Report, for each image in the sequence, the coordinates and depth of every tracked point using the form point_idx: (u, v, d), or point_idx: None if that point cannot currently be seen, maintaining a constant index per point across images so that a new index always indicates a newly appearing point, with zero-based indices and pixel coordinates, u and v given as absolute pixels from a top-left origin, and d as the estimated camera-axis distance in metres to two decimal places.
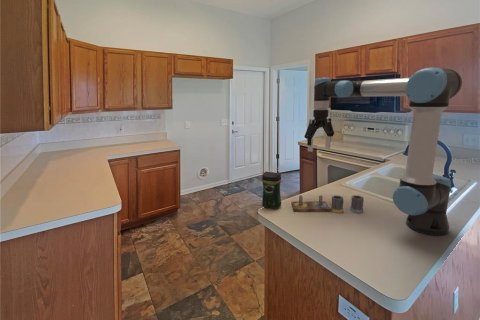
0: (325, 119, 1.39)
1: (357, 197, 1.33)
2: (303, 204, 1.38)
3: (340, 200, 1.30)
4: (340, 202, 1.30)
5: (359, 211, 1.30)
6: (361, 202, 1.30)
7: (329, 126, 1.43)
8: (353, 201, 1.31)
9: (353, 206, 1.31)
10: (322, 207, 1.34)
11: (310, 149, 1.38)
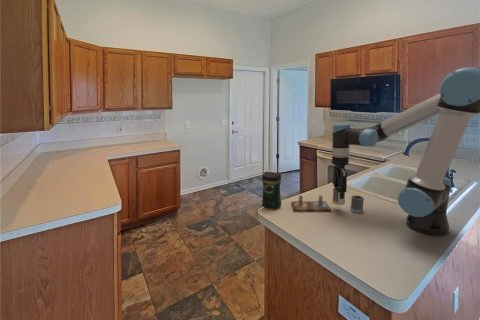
0: None
1: (357, 197, 1.33)
2: (303, 204, 1.38)
3: None
4: None
5: (359, 211, 1.30)
6: (361, 202, 1.30)
7: None
8: (353, 201, 1.31)
9: (353, 206, 1.31)
10: (322, 207, 1.34)
11: (342, 202, 1.28)
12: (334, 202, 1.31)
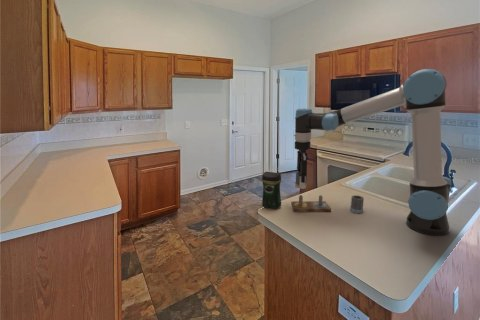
0: None
1: (357, 197, 1.33)
2: (303, 204, 1.38)
3: None
4: None
5: (359, 211, 1.30)
6: (361, 202, 1.30)
7: None
8: (353, 201, 1.31)
9: (353, 206, 1.31)
10: (322, 207, 1.34)
11: (303, 186, 1.32)
12: (296, 186, 1.34)
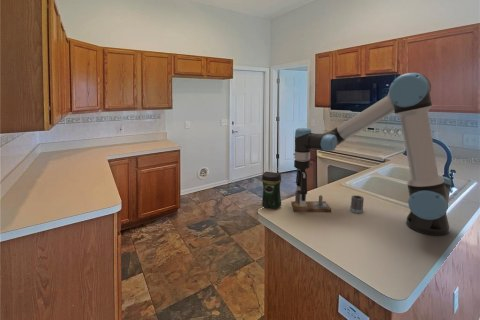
0: None
1: (357, 197, 1.33)
2: None
3: None
4: None
5: (359, 211, 1.30)
6: (361, 202, 1.30)
7: None
8: (353, 201, 1.31)
9: (353, 206, 1.31)
10: (322, 207, 1.34)
11: (304, 204, 1.31)
12: (296, 204, 1.36)
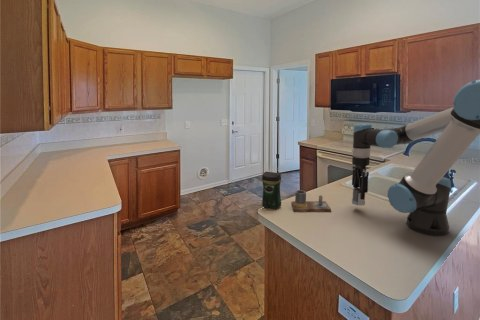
0: None
1: (359, 190, 1.32)
2: None
3: (303, 194, 1.34)
4: (303, 196, 1.34)
5: None
6: None
7: None
8: (355, 193, 1.29)
9: (355, 199, 1.30)
10: (322, 207, 1.34)
11: (362, 203, 1.28)
12: (296, 204, 1.36)
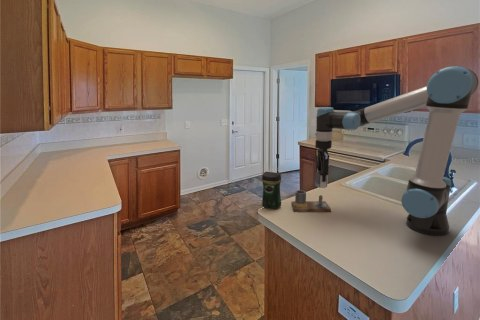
0: None
1: None
2: None
3: (303, 194, 1.34)
4: (303, 196, 1.34)
5: None
6: None
7: None
8: (317, 176, 1.32)
9: (317, 181, 1.33)
10: (322, 207, 1.34)
11: (324, 185, 1.31)
12: (296, 204, 1.36)
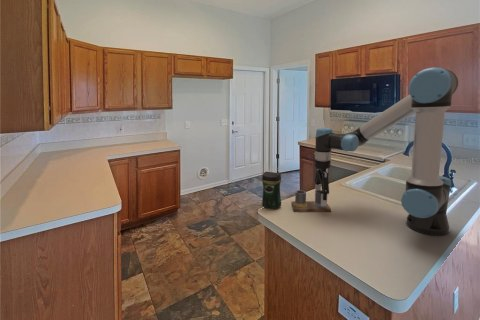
0: None
1: None
2: None
3: (303, 194, 1.34)
4: (303, 196, 1.34)
5: None
6: None
7: None
8: (316, 195, 1.35)
9: (316, 200, 1.35)
10: (322, 207, 1.34)
11: (325, 203, 1.30)
12: (296, 204, 1.36)
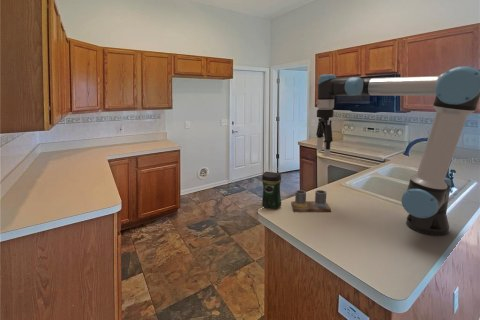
0: None
1: (321, 192, 1.37)
2: None
3: (303, 194, 1.34)
4: (303, 196, 1.34)
5: (322, 205, 1.34)
6: (324, 196, 1.34)
7: None
8: (316, 195, 1.35)
9: (316, 200, 1.35)
10: (322, 207, 1.34)
11: (328, 153, 1.24)
12: (296, 204, 1.36)
